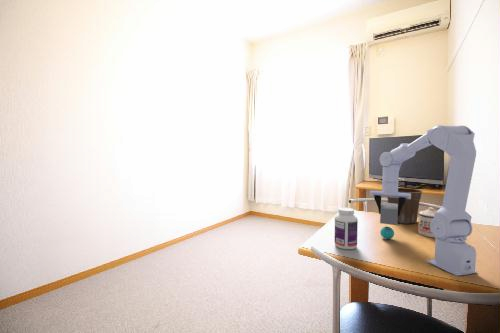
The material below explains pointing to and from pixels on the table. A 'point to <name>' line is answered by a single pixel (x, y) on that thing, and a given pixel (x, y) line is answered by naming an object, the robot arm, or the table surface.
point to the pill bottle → (346, 229)
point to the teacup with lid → (426, 221)
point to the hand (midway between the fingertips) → (389, 214)
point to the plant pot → (408, 205)
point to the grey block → (389, 213)
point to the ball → (387, 232)
